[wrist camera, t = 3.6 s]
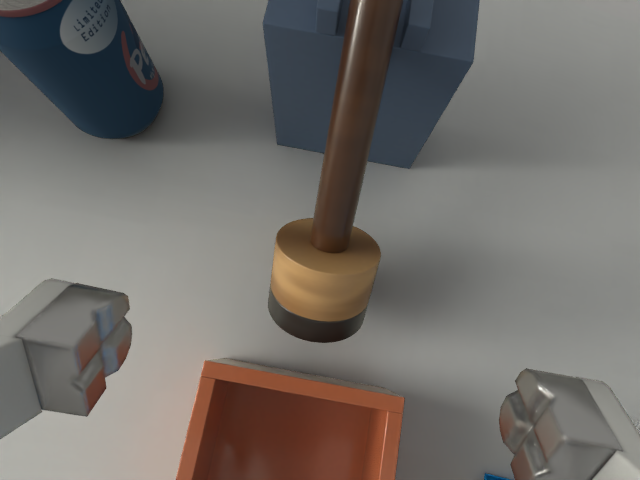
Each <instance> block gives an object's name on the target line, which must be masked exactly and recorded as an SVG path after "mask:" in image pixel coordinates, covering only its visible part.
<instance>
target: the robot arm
mask: <svg viewBox="0 0 640 480" xmlns="http://www.w3.org/2000/svg"><path fill="white" fill-rule="evenodd" d="M129 309H130V306H129V299H128V296H127V295H126V294H124V293H121V292H116V291H112V290H107V289H102V288H98V287H93V286H88V285H83V284H79V283H71V282H67V281H62V280H57V279H53V278H52V279H48V280H45V281H43V282H42V283H40V284H39V285H38V286H37V287H36V288H35V289H33V290H32V291H31V292H30V293H29V294H28V295H26V296H25V297H24V298H23V299H22V300H21V301H19V302H18V303H17V304H16V305H15V306H14V307H12V308H11V309H10V310H9V311H8V312H7V313H5V314H4V315H3V316H2V317H1V318H0V439H1V438H3V437H4V436H6V435H7V434H9V433H11V432H12V431H14V430H15V429H17V428H18V427H20V426H21V425H23V424H24V423H26V422H27V421H29V420H31V419H32V418H34V417H35V416H37V415H38V414H40V413H41V412H42V410H48V411H54V412H60V413H67V414H73V415H79V416H86V417H87V416H88V414H89V413H90V411H91V410H92V409H93V407H94V406H95V404H96V403H97V401H98V400H99V398H100V397H101V395H102V394H103V392H104V391H105V389H106V382H105V377H107V376H109V375H111V374H113V373H114V372H116V371H118V370H119V368H120V367H121V365H122V364H123V362H124V361H125V359H126V357H127V354H128V351H129V349H130V346H131V339H132V326H131V324H130V323H129V322H128V321H127V320H126V318H125V317H124V316H125V315H126V313H127V312H128V311H129ZM515 382H516V385H517V388H518V390H517V391H515V392H513V393H511V394H509V395H507V396H506V398H505V400H504V402H503V404H502V406H501V409H500V417H499V425H500V432H501V436H502V439H503V443H504V444H505V445H506V446H507V447H508V448H509V449H510V450H511V452H512V453H513V454H514V457H513V460H512V462H511V464H510V465H511V468H512V471H513V474H514V478H515V480H640V434H639V432H638V431H637V429H636V427H635V426H634V424H633V423H632V421H631V420H630V418H629V416H628V415H627V413H626V412H625V410H624V409H623V407H622V405H621V404H620V402H619V401H618V399H617V398H616V396H615V394H614V393H613V391H612V390H611V388H610V387H609V386H608V385H606V384H605V383H604V382H603V381H597V380H591V379H585V378H579V377H572V376H566V375H561V374H555V373H549V372H544V371H538V370H533V369H527V368H526V369H525V370H523V371H522V372H520V374H519V375H518V377H517V379H516V380H515Z"/></svg>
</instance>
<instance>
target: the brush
mask: <svg viewBox="0 0 640 480" xmlns="http://www.w3.org/2000/svg"><path fill="white" fill-rule="evenodd" d="M402 4H403V0H350V4H349V10H348V16H347V22H346V28H345V34H344V40H343V46H342V52H341V58H340V64H339V70H338V76H337V82H336V88H335V94H334V100H333V105H332V111H331V117H330V123H329V129H328V135H327V141H326V147H325V153H324V159H323V165H322V171H321V177H320V183H319V189H318V195H317V201H316V206H315V212H314V218H307V219H300V220H296V221H292V222H290V223H288V224H286V225H284V226H283V227H282V228H281V229H280V230H279V231H278V233H277V236H276V242H275V250H274V259H273V267H272V275H271V284H270V292H269V300H268V308H269V312H270V315H271V317H272V318H273V320H274V321H275V323H276V324H277V325H278V326H279V327H280V328H282V329H283V330H284V331H286V332H287V333H289V334H291V335H293V336H295V337H297V338H300V339H303V340H307V341H311V342H320V343H328V342H336V341H340V340H344V339H346V338H348V337H350V336H352V335H353V334H355V333H356V332H357V331H358V330H359V328H360V327H361V325H362V323H363V320H364V316H365V313H366V309H367V305H368V301H369V298H370V294H371V291H372V287H373V284H374V280H375V276H376V273H377V269H378V265H379V262H380V258H381V252H380V248H379V246H378V244H377V243H376V241H375V240H374V239H373V238H372V237H371V236H370V235H368V234H367V233H366V232H364V231H362V230H361V229H359V228H357V227H354V226H353V223H354V218H355V214H356V210H357V205H358V201H359V196H360V192H361V187H362V183H363V178H364V174H365V169H366V165H367V160H368V156H369V152H370V147H371V143H372V138H373V134H374V129H375V125H376V120H377V116H378V111H379V107H380V102H381V98H382V93H383V89H384V85H385V80H386V76H387V71H388V67H389V62H390V58H391V53H392V49H393V44H394V40H395V35H396V31H397V27H398V22H399V18H400V13H401V9H402Z"/></svg>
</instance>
